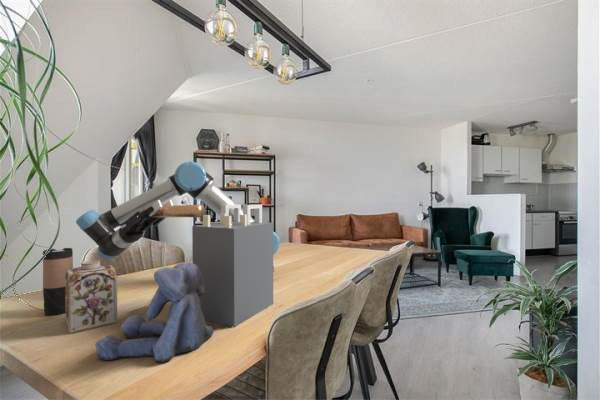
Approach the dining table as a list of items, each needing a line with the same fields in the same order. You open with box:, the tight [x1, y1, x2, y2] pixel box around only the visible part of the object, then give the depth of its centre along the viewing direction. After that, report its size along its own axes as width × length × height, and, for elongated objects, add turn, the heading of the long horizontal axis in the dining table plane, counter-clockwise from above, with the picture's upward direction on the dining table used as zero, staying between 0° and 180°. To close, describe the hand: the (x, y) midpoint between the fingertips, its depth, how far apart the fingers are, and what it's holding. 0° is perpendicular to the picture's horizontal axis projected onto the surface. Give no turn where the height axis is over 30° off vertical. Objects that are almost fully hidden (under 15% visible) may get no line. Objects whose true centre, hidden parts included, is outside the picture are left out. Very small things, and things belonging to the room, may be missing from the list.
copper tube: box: [141, 204, 206, 218], centre depth 104 cm, size 26×4×4 cm, turn 63°
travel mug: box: [42, 247, 74, 317], centre depth 99 cm, size 8×8×20 cm
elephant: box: [95, 261, 214, 363], centre depth 78 cm, size 21×25×21 cm
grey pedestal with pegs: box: [191, 203, 274, 328], centre depth 100 cm, size 21×16×34 cm
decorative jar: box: [65, 260, 119, 334], centre depth 90 cm, size 12×12×18 cm
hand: (165, 203), depth 105 cm, fingers closed on copper tube, 4 cm apart
